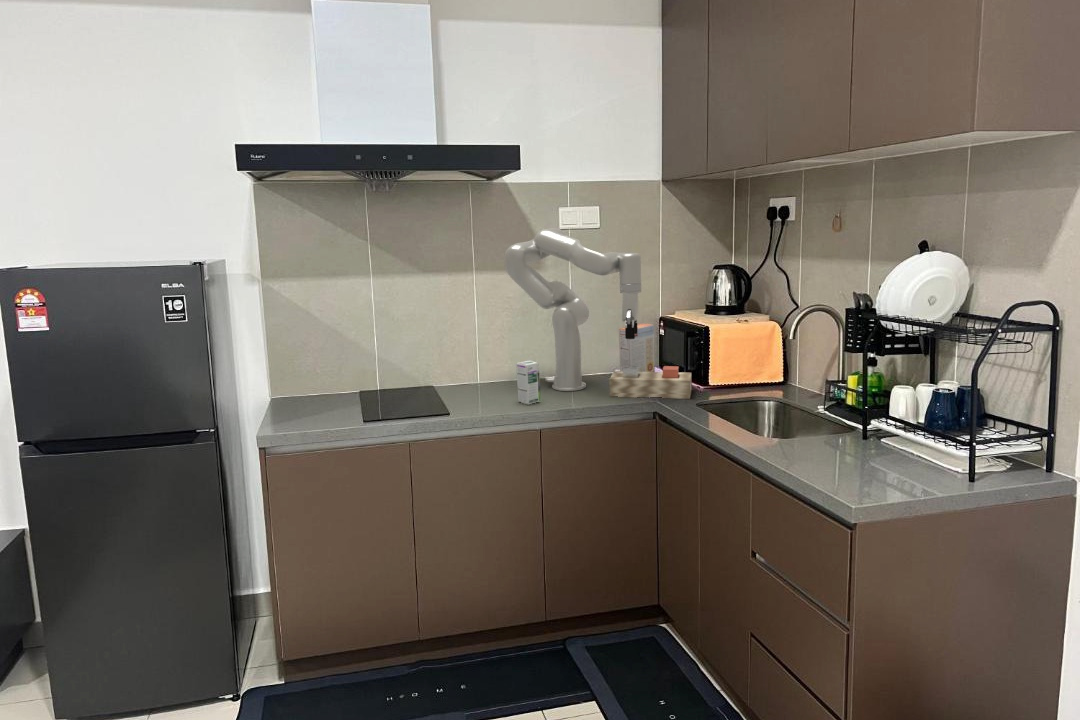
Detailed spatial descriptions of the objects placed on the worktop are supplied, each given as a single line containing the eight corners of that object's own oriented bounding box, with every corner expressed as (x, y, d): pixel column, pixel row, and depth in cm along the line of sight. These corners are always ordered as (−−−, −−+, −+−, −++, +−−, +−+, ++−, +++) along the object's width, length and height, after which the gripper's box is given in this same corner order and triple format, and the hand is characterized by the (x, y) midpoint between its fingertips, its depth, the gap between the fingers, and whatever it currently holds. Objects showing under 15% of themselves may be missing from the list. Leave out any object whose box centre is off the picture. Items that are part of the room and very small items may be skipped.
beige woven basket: (609, 396, 280) (609, 379, 278) (614, 388, 291) (614, 371, 290) (689, 398, 273) (690, 380, 272) (691, 390, 285) (691, 372, 283)
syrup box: (528, 405, 272) (526, 364, 269) (517, 402, 277) (516, 362, 274) (541, 402, 276) (539, 362, 273) (530, 399, 280) (528, 359, 277)
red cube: (662, 382, 278) (662, 369, 277) (663, 378, 282) (663, 366, 281) (677, 382, 276) (677, 369, 275) (678, 379, 281) (678, 366, 280)
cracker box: (643, 375, 309) (643, 322, 305) (655, 377, 305) (655, 324, 300) (619, 381, 300) (618, 327, 296) (630, 384, 296) (629, 329, 292)
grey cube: (623, 381, 281) (622, 368, 280) (624, 378, 286) (624, 365, 285) (637, 381, 280) (637, 369, 279) (639, 378, 284) (639, 365, 283)
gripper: (622, 285, 285) (623, 331, 288) (616, 291, 268) (618, 341, 272) (643, 285, 283) (644, 331, 287) (638, 291, 267) (639, 340, 270)
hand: (631, 336), depth 279 cm, fingers open, 9 cm apart
